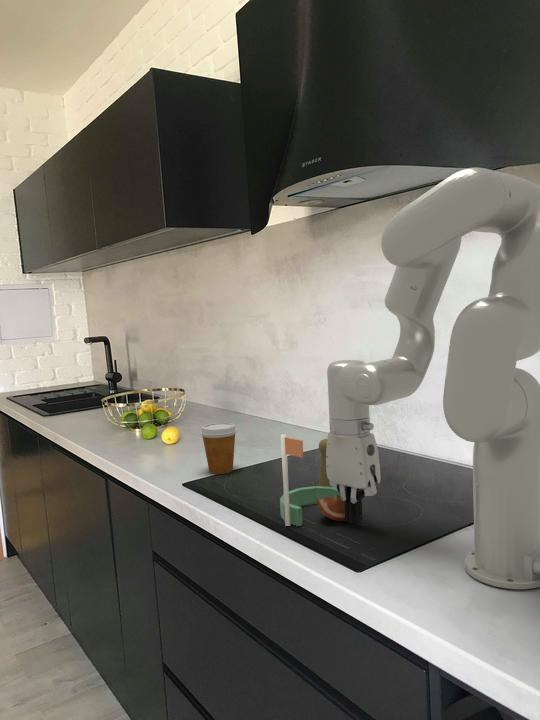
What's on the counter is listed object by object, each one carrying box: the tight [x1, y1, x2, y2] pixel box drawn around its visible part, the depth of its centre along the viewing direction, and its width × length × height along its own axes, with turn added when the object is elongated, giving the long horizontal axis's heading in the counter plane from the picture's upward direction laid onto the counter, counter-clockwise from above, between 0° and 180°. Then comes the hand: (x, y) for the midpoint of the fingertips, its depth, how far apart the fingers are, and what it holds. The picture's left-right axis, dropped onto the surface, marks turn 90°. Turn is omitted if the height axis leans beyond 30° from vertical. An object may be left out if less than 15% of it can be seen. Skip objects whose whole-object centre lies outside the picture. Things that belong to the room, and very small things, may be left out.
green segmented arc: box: [279, 433, 341, 527], centre depth 119 cm, size 12×16×18 cm
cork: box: [318, 438, 333, 487], centre depth 137 cm, size 6×6×11 cm
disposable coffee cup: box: [200, 422, 238, 475], centre depth 154 cm, size 10×10×12 cm
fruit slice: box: [316, 495, 345, 522], centre depth 116 cm, size 8×7×5 cm
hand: (353, 520), depth 112 cm, fingers closed
